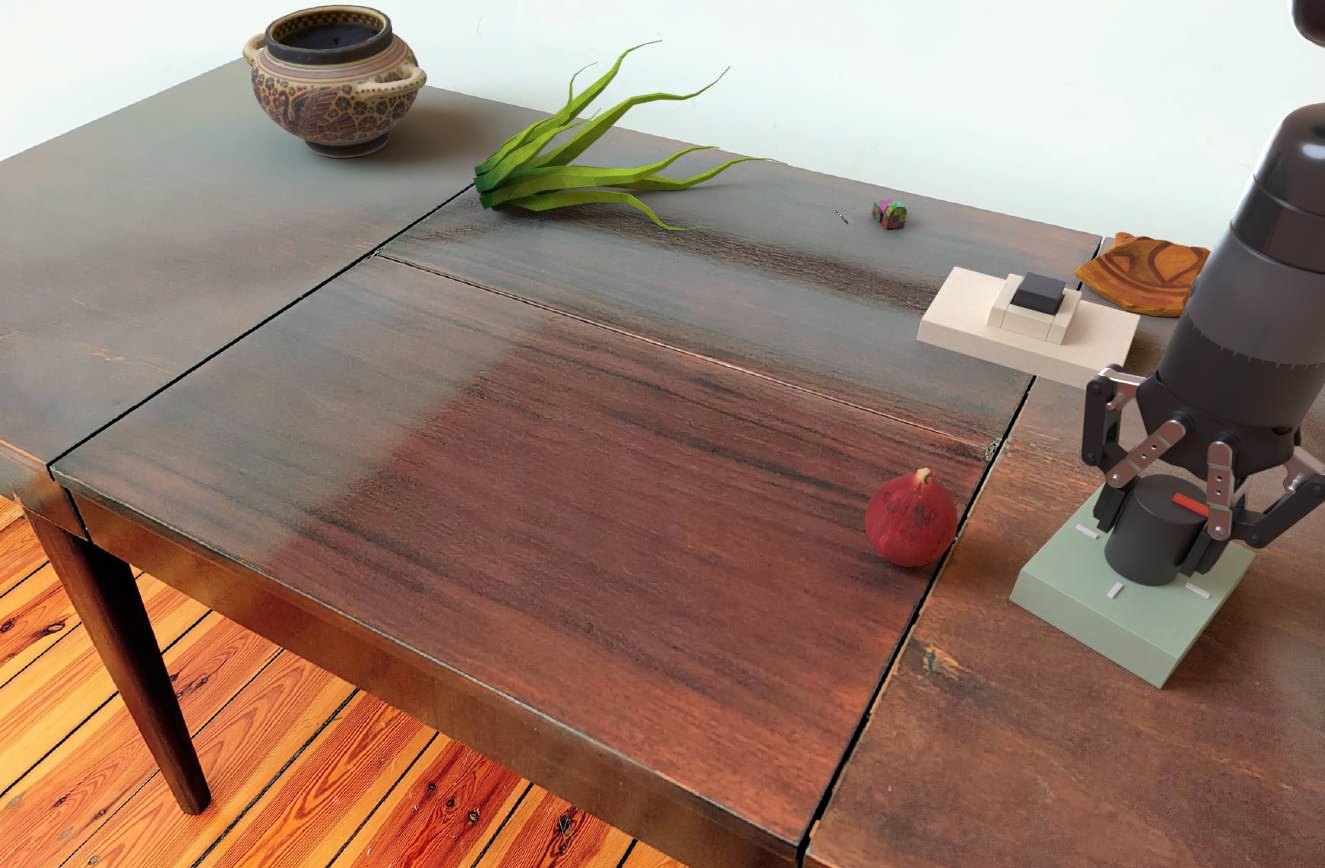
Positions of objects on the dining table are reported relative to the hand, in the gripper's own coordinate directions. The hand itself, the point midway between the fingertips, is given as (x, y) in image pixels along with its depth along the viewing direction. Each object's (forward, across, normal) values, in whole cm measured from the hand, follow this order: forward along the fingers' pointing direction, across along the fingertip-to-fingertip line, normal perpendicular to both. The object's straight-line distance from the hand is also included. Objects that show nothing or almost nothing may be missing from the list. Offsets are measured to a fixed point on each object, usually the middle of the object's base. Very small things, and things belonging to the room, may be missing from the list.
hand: (1148, 545), depth 65 cm
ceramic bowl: (+5, +93, -2) cm, 93 cm away
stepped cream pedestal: (+4, +19, -22) cm, 29 cm away
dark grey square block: (+1, +19, -22) cm, 29 cm away
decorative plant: (+5, +61, -16) cm, 63 cm away
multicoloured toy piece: (+5, +39, -31) cm, 50 cm away
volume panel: (+5, 0, 0) cm, 5 cm away
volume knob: (+1, 0, 0) cm, 1 cm away
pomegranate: (+5, +12, +8) cm, 15 cm away
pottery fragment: (+5, +16, -37) cm, 41 cm away
